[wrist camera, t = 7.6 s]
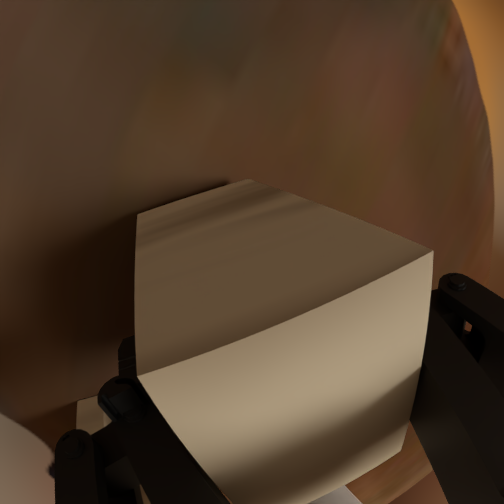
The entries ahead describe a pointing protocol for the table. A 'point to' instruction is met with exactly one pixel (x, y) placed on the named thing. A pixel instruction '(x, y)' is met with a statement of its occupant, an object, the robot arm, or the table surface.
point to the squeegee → (279, 338)
